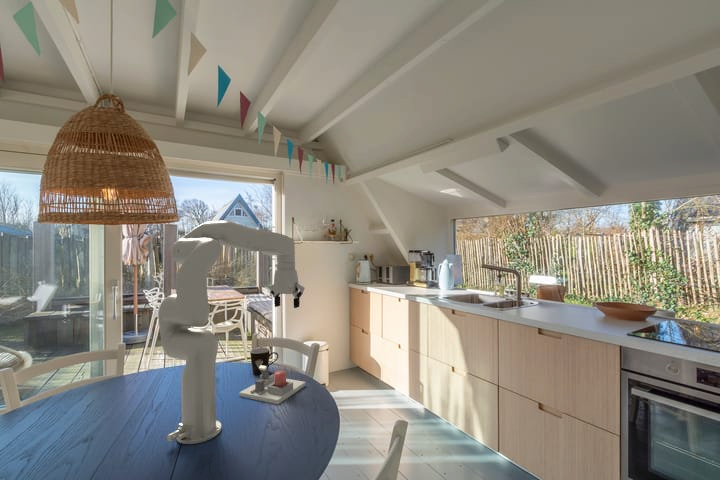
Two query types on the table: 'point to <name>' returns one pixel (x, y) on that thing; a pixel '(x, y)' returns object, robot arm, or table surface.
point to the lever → (264, 371)
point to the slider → (259, 385)
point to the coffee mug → (260, 359)
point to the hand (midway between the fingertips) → (286, 306)
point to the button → (280, 378)
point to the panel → (273, 390)
